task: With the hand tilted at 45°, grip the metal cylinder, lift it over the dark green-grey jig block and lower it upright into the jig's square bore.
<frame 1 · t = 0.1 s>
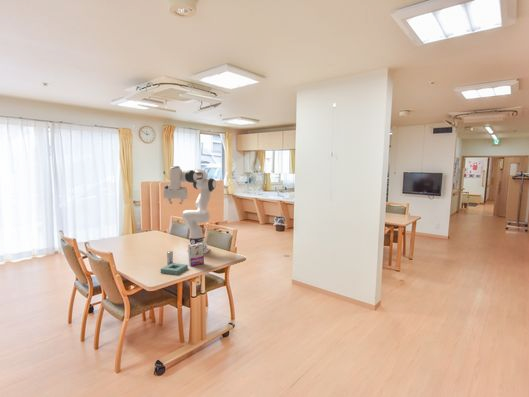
hand: (175, 204, 237), 48 cm above the table, tool pointing down, fingers open, 8 cm apart
jig block: (174, 270, 223), on the table
candy bar box: (196, 264, 238), on the table
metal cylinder: (170, 264, 238), on the table
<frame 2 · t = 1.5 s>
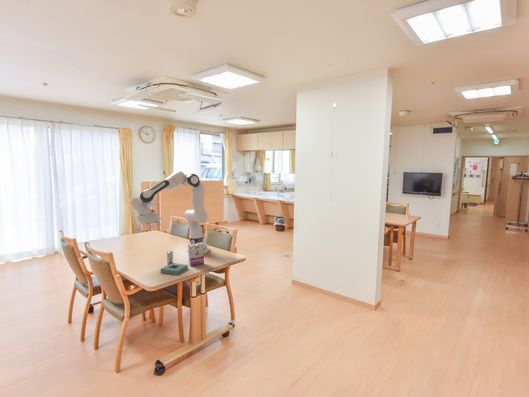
hand: (156, 226, 238), 30 cm above the table, tool tilted 45°, fingers open, 8 cm apart
nothing on the table moved.
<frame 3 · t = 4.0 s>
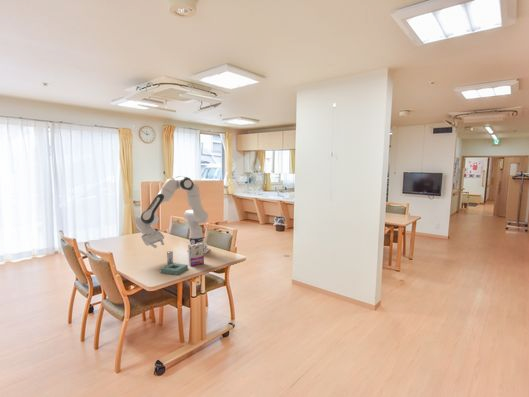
hand: (159, 246, 239), 14 cm above the table, tool tilted 45°, fingers open, 8 cm apart
nothing on the table moved.
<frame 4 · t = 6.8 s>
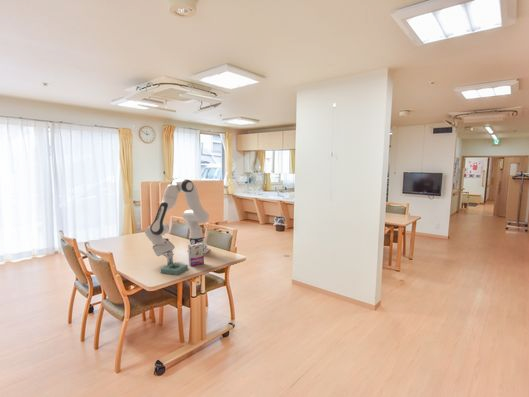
hand: (170, 256, 237), 6 cm above the table, tool tilted 45°, fingers closed on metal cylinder, 4 cm apart
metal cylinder: (170, 264, 238), on the table, touching gripper
everything else where it was.
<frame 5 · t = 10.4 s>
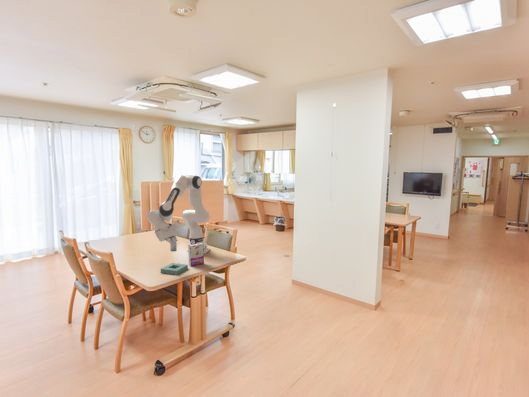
hand: (174, 242, 221), 22 cm above the table, tool tilted 45°, fingers closed on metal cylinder, 4 cm apart
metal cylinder: (173, 250, 222), point 15 cm above the table, touching gripper
everything else where it was.
when the fingers open (8 cm above the table, at t = 14.4 s): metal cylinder drops 1 cm, resting in jig block.
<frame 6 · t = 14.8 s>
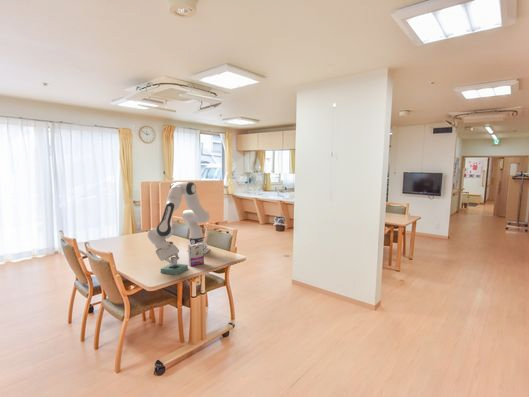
hand: (175, 260, 222), 8 cm above the table, tool tilted 45°, fingers open, 8 cm apart
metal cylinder: (174, 270, 223), resting in jig block
everything else where it was.
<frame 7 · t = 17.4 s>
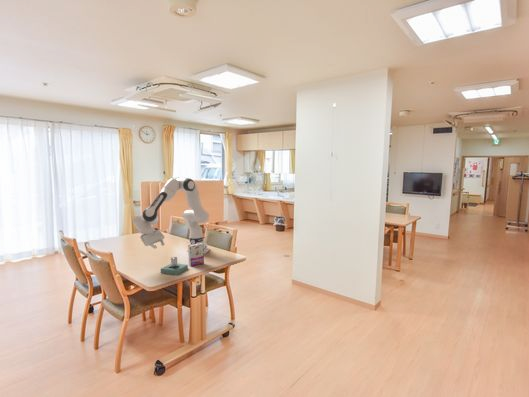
hand: (159, 246, 225), 17 cm above the table, tool tilted 45°, fingers open, 8 cm apart
nothing on the table moved.
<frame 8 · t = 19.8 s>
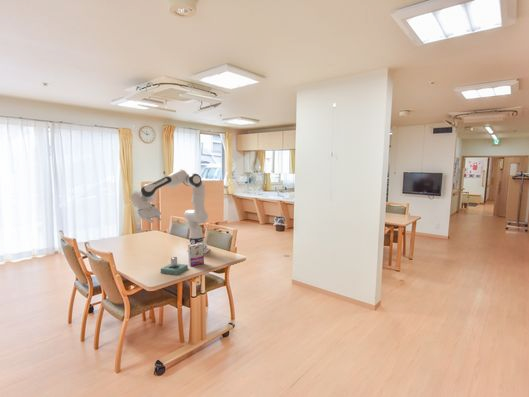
hand: (156, 221, 235), 34 cm above the table, tool tilted 45°, fingers open, 8 cm apart
nothing on the table moved.
at the end: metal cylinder 0.1 cm off-centre on the jig block, point 0.0 cm above the jig block's base; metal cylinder tilted 0°; the gripper is holding nothing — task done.
